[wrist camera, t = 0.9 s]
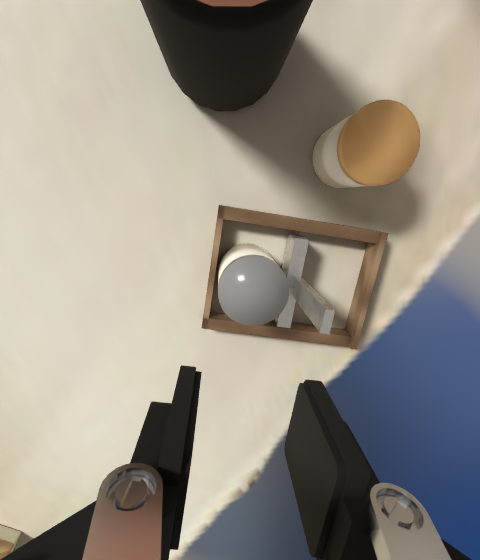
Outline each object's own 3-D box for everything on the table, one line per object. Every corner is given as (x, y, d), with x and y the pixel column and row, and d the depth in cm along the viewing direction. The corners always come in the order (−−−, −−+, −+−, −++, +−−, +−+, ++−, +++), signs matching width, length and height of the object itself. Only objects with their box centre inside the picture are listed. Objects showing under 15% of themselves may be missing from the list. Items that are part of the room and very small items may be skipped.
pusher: (288, 234, 33) (328, 255, 20) (301, 236, 33) (348, 258, 21) (272, 315, 35) (299, 378, 23) (284, 317, 35) (317, 380, 23)
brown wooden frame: (219, 205, 32) (218, 205, 29) (376, 230, 33) (388, 233, 31) (202, 321, 35) (201, 330, 32) (347, 339, 36) (356, 349, 34)
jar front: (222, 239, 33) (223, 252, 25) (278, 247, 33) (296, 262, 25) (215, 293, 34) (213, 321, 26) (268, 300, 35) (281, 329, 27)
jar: (319, 118, 30) (353, 92, 22) (378, 130, 31) (430, 108, 23) (306, 182, 32) (334, 178, 24) (362, 192, 32) (406, 191, 25)
